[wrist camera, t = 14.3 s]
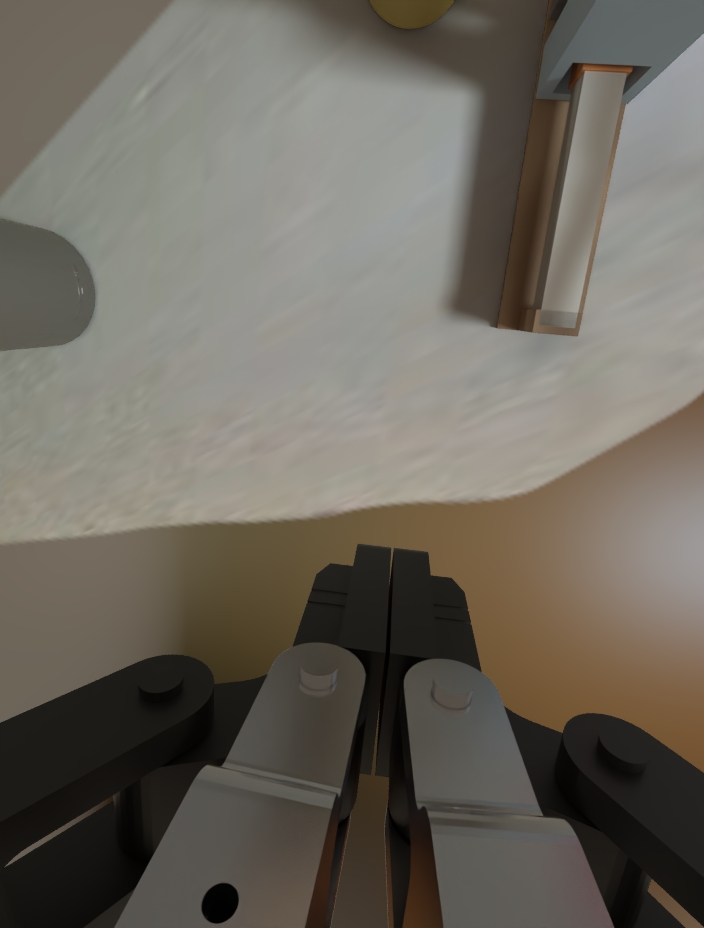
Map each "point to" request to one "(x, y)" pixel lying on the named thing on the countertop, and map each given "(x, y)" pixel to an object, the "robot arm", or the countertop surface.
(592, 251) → the rail
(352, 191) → the countertop surface
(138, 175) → the countertop surface
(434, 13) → the paper tube
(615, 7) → the light blue block
